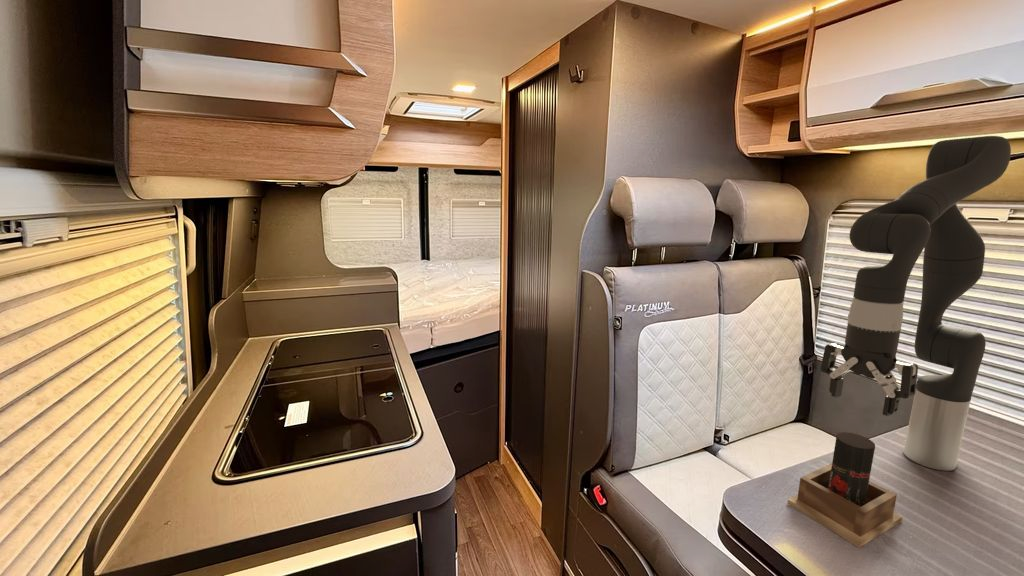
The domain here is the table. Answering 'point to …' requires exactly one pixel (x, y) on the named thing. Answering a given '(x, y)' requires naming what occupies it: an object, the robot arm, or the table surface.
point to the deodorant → (851, 467)
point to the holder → (846, 508)
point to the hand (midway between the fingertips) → (860, 404)
